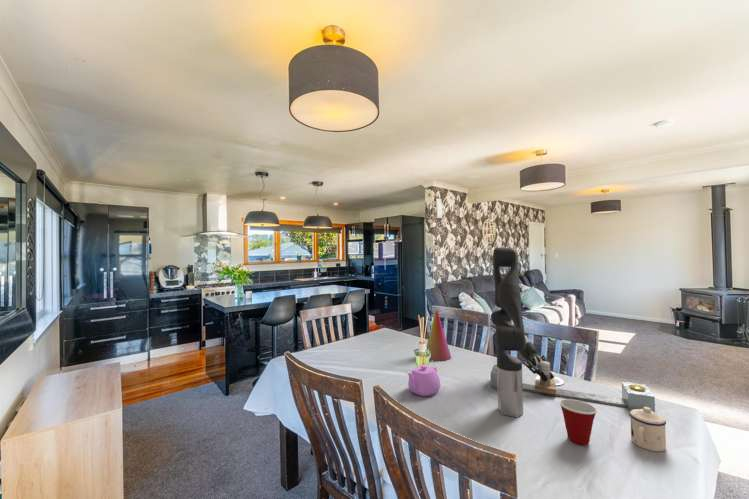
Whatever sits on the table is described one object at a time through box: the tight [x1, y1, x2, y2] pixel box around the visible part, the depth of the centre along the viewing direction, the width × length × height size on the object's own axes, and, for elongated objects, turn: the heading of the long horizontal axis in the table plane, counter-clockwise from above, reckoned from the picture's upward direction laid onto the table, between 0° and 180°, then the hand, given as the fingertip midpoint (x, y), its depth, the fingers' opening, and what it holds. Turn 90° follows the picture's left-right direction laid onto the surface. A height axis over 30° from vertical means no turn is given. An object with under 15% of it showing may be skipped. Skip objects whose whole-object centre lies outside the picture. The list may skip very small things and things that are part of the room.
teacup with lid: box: [629, 407, 667, 452], centre depth 105 cm, size 12×9×12 cm
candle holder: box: [534, 371, 564, 386], centre depth 157 cm, size 12×12×4 cm
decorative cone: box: [426, 306, 452, 362], centre depth 196 cm, size 16×16×30 cm
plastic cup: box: [558, 398, 598, 447], centre depth 108 cm, size 11×11×12 cm
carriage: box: [534, 360, 557, 394], centre depth 145 cm, size 9×8×12 cm
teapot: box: [406, 364, 441, 397], centre depth 148 cm, size 20×13×12 cm, turn 131°
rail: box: [490, 364, 656, 413], centre depth 142 cm, size 12×59×8 cm, turn 62°
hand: (549, 379), depth 144 cm, fingers closed on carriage, 4 cm apart
